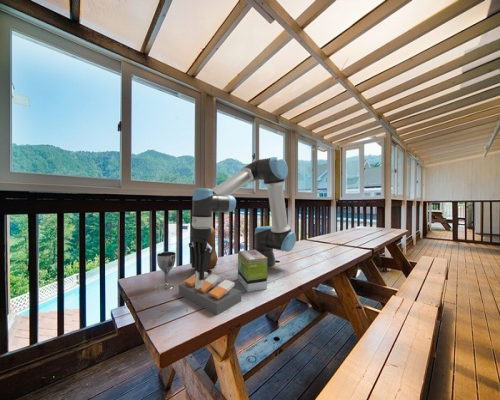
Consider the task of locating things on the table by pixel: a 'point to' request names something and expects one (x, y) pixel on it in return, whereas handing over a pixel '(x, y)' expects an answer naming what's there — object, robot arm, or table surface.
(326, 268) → the table surface
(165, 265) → the wine glass
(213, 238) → the butternut squash
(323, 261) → the table surface
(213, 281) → the switch middle
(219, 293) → the switch
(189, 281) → the switch
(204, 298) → the power strip
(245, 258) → the tea box
